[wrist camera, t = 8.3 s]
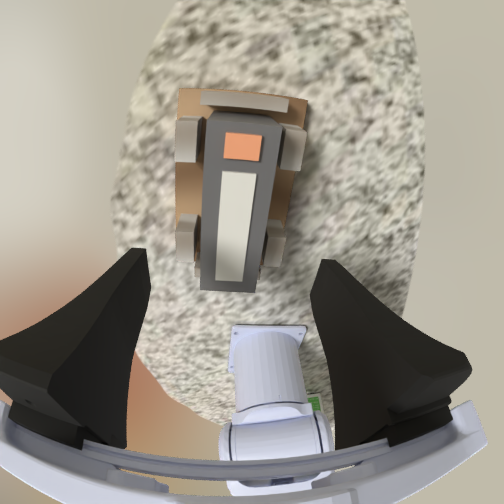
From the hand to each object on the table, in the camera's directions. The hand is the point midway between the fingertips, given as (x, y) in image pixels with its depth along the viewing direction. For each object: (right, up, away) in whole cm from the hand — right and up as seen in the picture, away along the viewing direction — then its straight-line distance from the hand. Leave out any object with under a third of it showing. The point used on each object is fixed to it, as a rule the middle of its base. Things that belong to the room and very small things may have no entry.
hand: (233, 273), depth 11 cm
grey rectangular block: (0, +5, +7) cm, 9 cm away
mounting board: (0, +6, +8) cm, 10 cm away
